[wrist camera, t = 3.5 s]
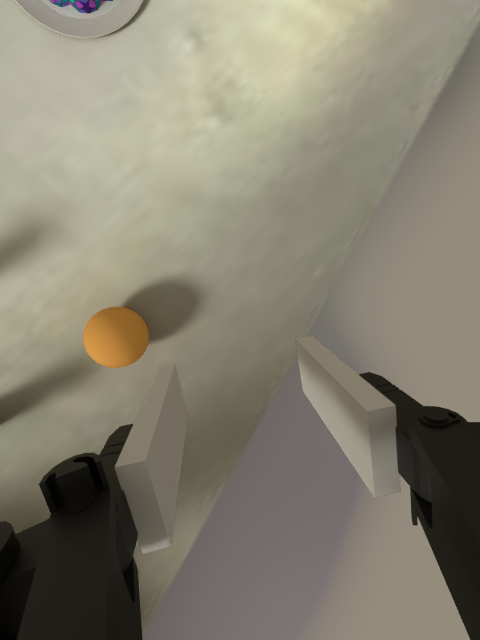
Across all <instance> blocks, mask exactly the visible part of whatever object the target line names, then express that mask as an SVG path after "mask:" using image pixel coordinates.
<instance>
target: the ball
mask: <svg viewBox="0 0 480 640" xmlns="http://www.w3.org/2000/svg"><path fill="white" fill-rule="evenodd" d="M83 341H84V346H85V349H86V351H87V353H88V354H89V356H90V357H91V358H92V359H93V360H94V361H96V362H97V363H99V364H101V365H103V366H106V367H112V368H119V367H124V366H128V365H130V364H132V363H134V362H135V361H137V360H138V359H139V358H140V357H141V356H142V355H143V354H144V352H145V350H146V348H147V346H148V342H149V331H148V328H147V325H146V323H145V321H144V320H143V319H142V317H141V316H140V315H138V314H137V313H136V312H134V311H132V310H130V309H128V308H124V307H110V308H106V309H103V310H101V311H99V312H98V313H96V314H95V315H94V316H93V317H92V318H91V319H90V320H89V321H88V323H87V325H86V327H85V330H84V335H83Z"/></svg>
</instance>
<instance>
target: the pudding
mask: <svg viewBox="0 0 480 640" xmlns="http://www.w3.org/2000/svg"><path fill="white" fill-rule="evenodd" d="M15 1H16V2H17V3H18V5H19V6H20V7H21V8H22V9H23V10H24V11H25V12H26V13H27V14H28V15H30V16H31V17H32V18H33V19H35V20H36V21H37V22H39V23H40V24H42V25H43V26H45V27H47V28H49V29H51V30H52V31H55V32H57V33H60V34H63V35H66V36H70V37H76V38H96V37H100V36H104V35H107V34H110V33H112V32H114V31H116V30H118V29H119V28H121V27H122V26H123V25H125V24H126V23H127V22H128V21H129V20H130V19H131V18H132V17H133V16H134V15H135V13H136V12H137V11H138V9H139V8H140V6H141V4H142V2H143V1H144V0H122V1H121V2H120V3H119V4H118V6H117V7H115V8H114V9H113V10H112V11H110V12H109V13H107V14H105V15H103V16H101V17H97V18H93V19H76V18H71V17H68V16H65V15H62V14H60V13H58V12H56V11H55V10H53V9H51V8H50V7H48V6H47V5H46V4H45V3H43V2H42V1H41V0H15ZM49 1H50V2H51V3H53V4H55V5H58V6H60V7H64V6H67V5H72V6H73V7H74V8H75V9H77V10H78V11H79V12H81V13H91V12H94V11H97V10H98V8H99V6H100V4H101V2H102V1H113V0H49Z"/></svg>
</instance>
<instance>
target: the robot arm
mask: <svg viewBox="0 0 480 640" xmlns="http://www.w3.org/2000/svg"><path fill="white" fill-rule="evenodd" d="M296 346H297V353H298V359H299V367H300V374H301V381H302V389H303V392H304V394H305V395H306V396H307V398H308V399H309V401H310V402H311V404H312V405H313V407H314V408H315V410H316V411H317V413H318V414H319V416H320V417H321V419H322V420H323V422H324V423H325V425H326V426H327V427H328V429H329V431H330V432H331V434H332V435H333V437H334V438H335V440H336V441H337V442H338V444H339V446H340V447H341V449H342V450H343V452H344V453H345V454H346V456H347V457H348V459H349V460H350V462H351V463H352V465H353V466H354V468H355V469H356V471H357V472H358V474H359V475H360V477H361V478H362V480H363V481H364V483H365V484H366V486H367V487H368V489H369V490H370V492H371V493H372V495H373V496H374V498H377V497H381V496H385V495H389V494H393V493H398V492H401V489H400V475H401V476H402V477H403V478H404V479H405V481H406V482H407V483H408V484H409V485H410V492H411V513H412V522H413V525H417V517H418V518H419V520H420V523H421V525H422V527H423V530H424V532H425V534H426V537H427V539H428V541H429V544H430V546H431V548H432V550H433V553H434V555H435V558H436V560H437V562H438V565H439V567H440V569H441V572H442V574H443V576H444V579H445V581H446V584H447V586H448V588H449V590H450V593H451V595H452V597H453V600H454V602H455V604H456V607H457V609H458V611H459V614H460V616H461V619H462V621H463V623H464V626H465V628H466V630H467V633H468V635H469V637H470V640H480V422H467V421H466V420H465V419H464V418H463V417H462V416H460V415H459V414H458V413H456V412H453V411H451V410H449V409H445V408H441V407H435V406H432V407H431V406H422V405H421V404H420V403H418V402H417V401H416V400H414V399H413V398H411V397H410V396H409V395H407V394H406V393H404V392H403V391H402V390H399V388H397V387H396V386H395V385H392V384H391V383H390V382H389V381H388V380H386V379H385V378H383V377H382V376H379V375H376V374H373V373H370V372H368V373H364V374H357V373H356V372H355V371H353V370H352V369H351V368H350V367H349V366H347V365H346V364H345V363H344V362H342V361H341V360H340V359H339V358H337V357H336V356H335V355H334V354H333V353H331V352H330V351H329V350H328V349H326V348H325V347H324V346H323V345H322V344H321V343H319V342H318V341H317V340H315V339H314V338H313V337H312V336H307V337H302V338H297V339H296ZM187 420H188V414H187V410H186V406H185V401H184V397H183V393H182V389H181V385H180V381H179V377H178V373H177V369H176V365H175V364H170V365H165V366H160V367H158V370H157V372H156V374H155V376H154V379H153V381H152V383H151V386H150V388H149V390H148V392H147V395H146V397H145V399H144V401H143V404H142V406H141V408H140V411H139V413H138V415H137V417H136V420H135V422H134V424H130V425H125V426H120V427H119V428H118V429H117V430H116V431H115V432H114V433H113V434H112V435H110V436H109V438H108V440H107V442H106V444H105V446H104V449H102V451H101V453H100V455H97V454H95V453H84V454H80V455H76V456H73V457H71V458H69V459H67V460H65V461H63V462H61V463H60V464H58V465H57V466H55V467H54V468H52V469H51V470H50V471H49V472H48V473H47V474H46V475H45V476H44V477H43V479H42V480H41V482H40V484H39V485H40V488H41V490H42V493H43V495H44V497H45V500H46V502H47V505H48V507H49V510H50V512H51V515H50V518H49V519H48V520H46V521H44V522H42V523H40V524H37V525H35V526H33V527H31V528H29V529H26V530H24V531H22V532H20V533H18V534H15V532H14V530H13V527H12V525H11V524H10V523H8V522H5V521H4V522H0V640H142V627H141V613H140V598H139V583H138V569H137V566H136V563H135V560H134V557H133V553H134V549H135V545H136V541H137V538H138V541H139V544H140V547H141V550H142V553H148V552H152V551H156V550H160V549H164V548H168V547H171V543H172V536H173V528H174V520H175V513H176V505H177V497H178V489H179V482H180V474H181V466H182V459H183V451H184V443H185V435H186V428H187Z"/></svg>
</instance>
